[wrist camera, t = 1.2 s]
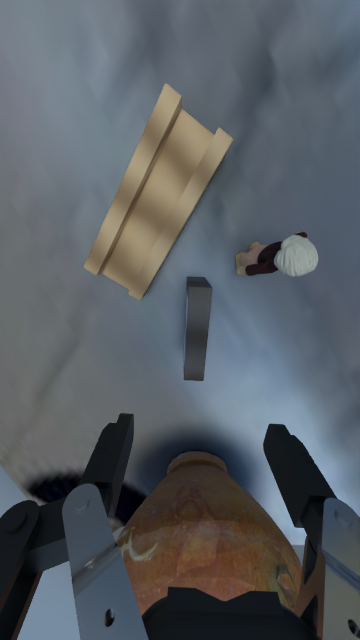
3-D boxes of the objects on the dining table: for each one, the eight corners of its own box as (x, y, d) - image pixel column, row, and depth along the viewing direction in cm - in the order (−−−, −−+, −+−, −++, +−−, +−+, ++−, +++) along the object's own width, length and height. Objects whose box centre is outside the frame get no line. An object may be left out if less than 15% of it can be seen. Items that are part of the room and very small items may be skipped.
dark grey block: (187, 276, 29) (188, 286, 21) (204, 277, 29) (212, 287, 21) (183, 349, 33) (183, 380, 25) (198, 350, 33) (203, 380, 25)
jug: (105, 473, 44) (-34, 885, 15) (191, 395, 36) (223, 925, 8) (199, 523, 50) (223, 883, 21) (289, 465, 42) (507, 905, 14)
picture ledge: (168, 109, 22) (165, 83, 19) (225, 155, 24) (233, 139, 20) (96, 264, 28) (83, 267, 25) (145, 294, 30) (140, 300, 26)
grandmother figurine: (240, 284, 29) (280, 309, 17) (222, 264, 28) (253, 277, 16) (284, 244, 27) (365, 241, 15) (267, 222, 26) (339, 200, 14)
